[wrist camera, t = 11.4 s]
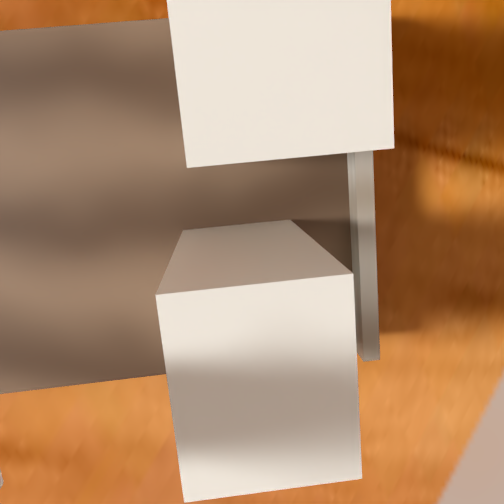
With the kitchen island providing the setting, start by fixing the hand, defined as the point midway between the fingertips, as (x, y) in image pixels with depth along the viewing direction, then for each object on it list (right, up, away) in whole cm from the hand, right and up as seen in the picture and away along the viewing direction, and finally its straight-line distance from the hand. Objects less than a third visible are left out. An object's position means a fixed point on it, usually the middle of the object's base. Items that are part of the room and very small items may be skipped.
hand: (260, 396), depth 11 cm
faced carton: (0, +11, +9) cm, 14 cm away
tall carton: (-1, +2, +10) cm, 11 cm away
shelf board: (-6, +6, +11) cm, 14 cm away
